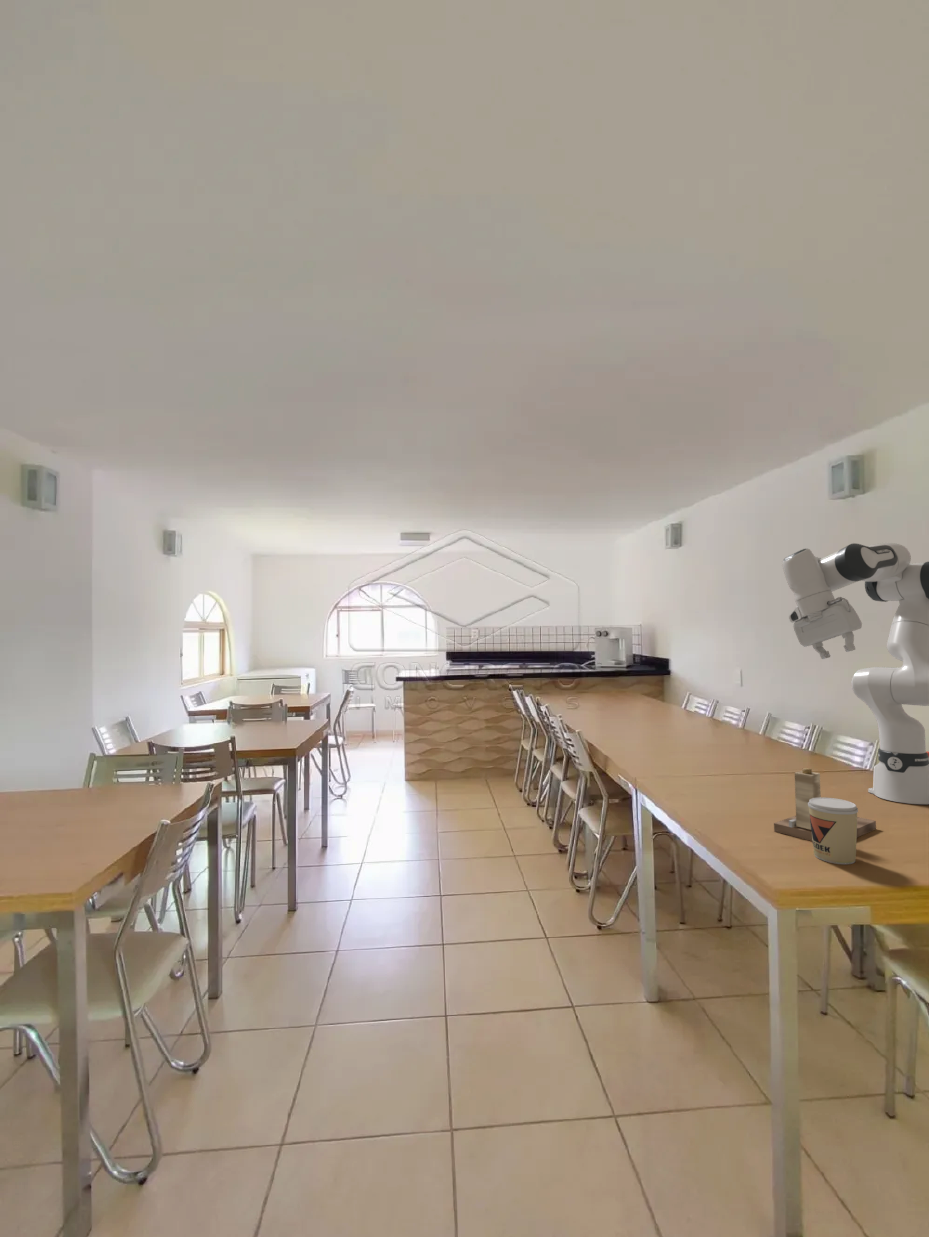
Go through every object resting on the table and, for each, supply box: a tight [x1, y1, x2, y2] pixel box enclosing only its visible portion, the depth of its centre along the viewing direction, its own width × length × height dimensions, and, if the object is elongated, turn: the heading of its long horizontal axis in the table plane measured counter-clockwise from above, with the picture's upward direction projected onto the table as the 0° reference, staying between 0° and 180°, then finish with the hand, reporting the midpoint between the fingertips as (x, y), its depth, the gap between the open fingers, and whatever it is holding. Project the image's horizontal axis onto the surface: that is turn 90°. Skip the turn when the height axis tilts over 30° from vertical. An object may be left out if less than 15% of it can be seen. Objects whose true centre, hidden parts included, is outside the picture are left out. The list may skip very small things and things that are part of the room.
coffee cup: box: [808, 797, 859, 865], centre depth 128 cm, size 9×9×12 cm
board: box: [773, 815, 877, 842], centre depth 146 cm, size 22×14×4 cm, turn 124°
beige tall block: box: [794, 767, 822, 830], centre depth 142 cm, size 4×5×14 cm
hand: (838, 654), depth 155 cm, fingers open, 8 cm apart
